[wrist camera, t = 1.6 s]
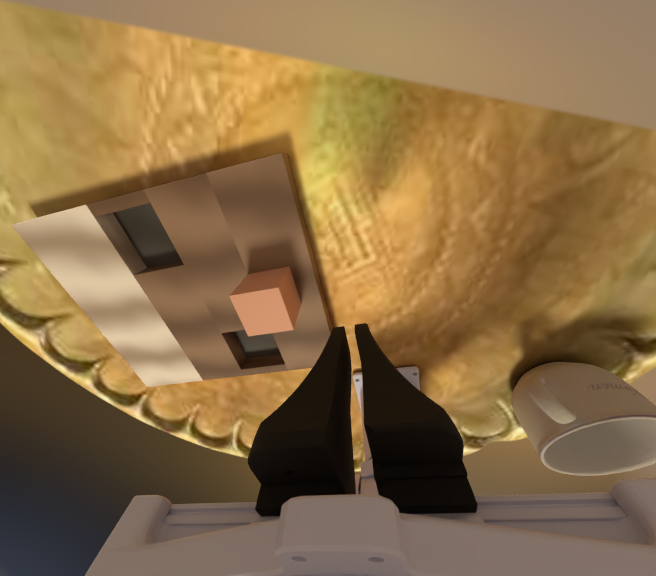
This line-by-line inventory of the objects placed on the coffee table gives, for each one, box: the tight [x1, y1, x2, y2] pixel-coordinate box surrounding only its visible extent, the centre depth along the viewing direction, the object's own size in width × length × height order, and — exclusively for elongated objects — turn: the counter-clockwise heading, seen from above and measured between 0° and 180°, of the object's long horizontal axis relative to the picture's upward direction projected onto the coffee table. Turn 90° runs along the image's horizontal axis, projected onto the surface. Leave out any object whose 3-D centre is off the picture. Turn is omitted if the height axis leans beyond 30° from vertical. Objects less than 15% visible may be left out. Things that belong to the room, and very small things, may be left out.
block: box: [229, 267, 301, 336], centre depth 20 cm, size 4×4×4 cm
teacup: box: [511, 362, 656, 476], centre depth 24 cm, size 14×11×8 cm
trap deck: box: [11, 153, 333, 387], centre depth 24 cm, size 21×25×2 cm
